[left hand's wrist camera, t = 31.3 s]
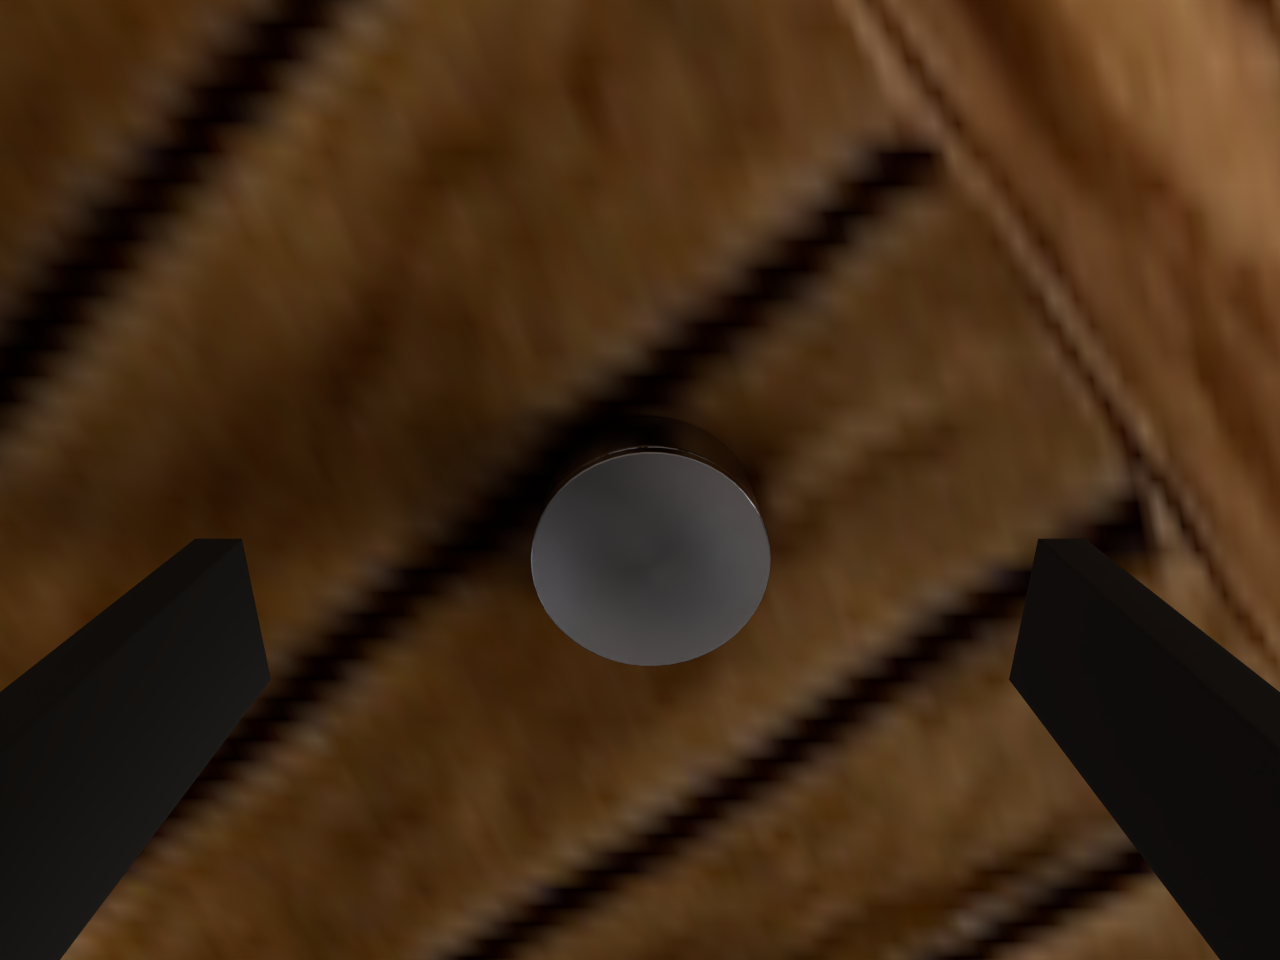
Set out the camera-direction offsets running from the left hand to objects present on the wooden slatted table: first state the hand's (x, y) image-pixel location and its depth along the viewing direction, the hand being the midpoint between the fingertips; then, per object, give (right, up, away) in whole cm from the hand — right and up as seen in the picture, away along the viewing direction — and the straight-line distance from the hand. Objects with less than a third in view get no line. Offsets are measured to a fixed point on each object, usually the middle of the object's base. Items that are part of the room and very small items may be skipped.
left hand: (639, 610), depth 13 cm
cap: (0, +1, +1) cm, 1 cm away
